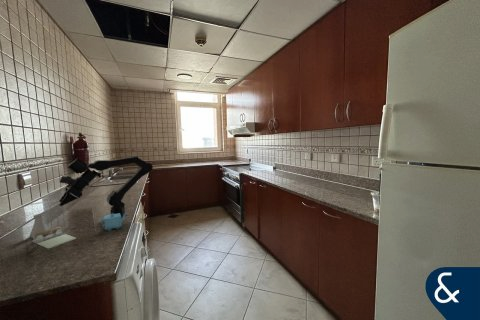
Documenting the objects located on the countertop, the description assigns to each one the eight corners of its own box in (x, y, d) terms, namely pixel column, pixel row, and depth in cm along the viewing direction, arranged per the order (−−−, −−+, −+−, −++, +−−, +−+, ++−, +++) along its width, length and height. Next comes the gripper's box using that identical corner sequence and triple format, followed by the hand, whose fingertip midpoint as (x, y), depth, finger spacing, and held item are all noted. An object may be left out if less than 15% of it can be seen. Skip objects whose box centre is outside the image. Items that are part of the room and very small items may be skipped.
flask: (37, 238, 94) (35, 217, 93) (25, 237, 96) (23, 217, 95) (54, 232, 101) (52, 212, 100) (43, 231, 103) (41, 211, 102)
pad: (65, 234, 97) (65, 234, 97) (76, 238, 93) (76, 237, 93) (37, 244, 89) (37, 243, 88) (48, 248, 84) (48, 247, 84)
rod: (59, 229, 99) (59, 226, 99) (60, 229, 98) (60, 226, 98) (34, 236, 91) (33, 233, 91) (35, 237, 90) (35, 234, 90)
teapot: (127, 223, 110) (127, 209, 110) (129, 226, 106) (128, 212, 105) (101, 229, 104) (100, 214, 103) (101, 233, 99) (100, 218, 98)
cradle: (59, 232, 100) (59, 226, 100) (63, 234, 98) (63, 228, 98) (32, 241, 91) (31, 235, 91) (35, 243, 89) (35, 236, 89)
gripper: (69, 168, 112) (44, 191, 106) (71, 171, 98) (42, 198, 92) (88, 180, 118) (65, 203, 111) (92, 184, 104) (66, 211, 98)
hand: (60, 203), depth 103 cm, fingers open, 9 cm apart
